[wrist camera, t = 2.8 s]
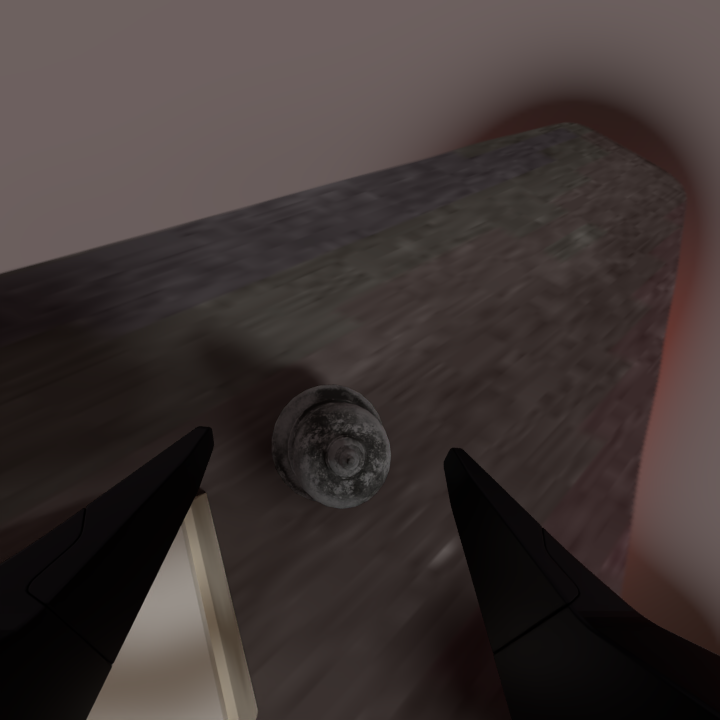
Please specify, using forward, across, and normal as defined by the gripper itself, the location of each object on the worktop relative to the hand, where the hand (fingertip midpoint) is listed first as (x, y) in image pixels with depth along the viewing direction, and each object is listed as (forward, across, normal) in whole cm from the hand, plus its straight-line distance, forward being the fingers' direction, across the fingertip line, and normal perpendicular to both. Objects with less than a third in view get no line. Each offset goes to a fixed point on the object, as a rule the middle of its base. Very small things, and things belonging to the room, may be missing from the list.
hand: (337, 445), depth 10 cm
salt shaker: (+5, 0, +6) cm, 8 cm away
